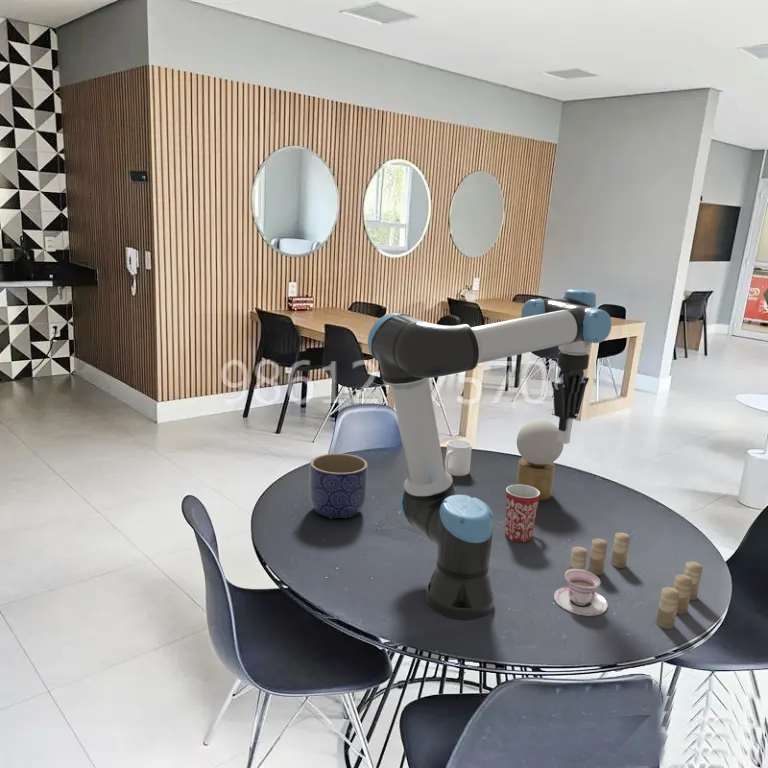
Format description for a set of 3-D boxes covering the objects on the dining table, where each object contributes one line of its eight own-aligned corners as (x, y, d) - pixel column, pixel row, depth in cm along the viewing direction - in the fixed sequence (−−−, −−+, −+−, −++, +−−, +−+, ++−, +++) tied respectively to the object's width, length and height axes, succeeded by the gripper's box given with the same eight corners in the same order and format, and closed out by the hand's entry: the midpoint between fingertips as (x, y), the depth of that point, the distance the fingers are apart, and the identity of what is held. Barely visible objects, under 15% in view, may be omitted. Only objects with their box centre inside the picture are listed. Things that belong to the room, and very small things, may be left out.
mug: (522, 547, 184) (527, 500, 180) (495, 535, 190) (499, 489, 187) (548, 533, 192) (553, 488, 189) (521, 522, 199) (526, 478, 195)
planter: (374, 520, 195) (376, 470, 192) (317, 527, 189) (319, 476, 186) (354, 497, 210) (356, 451, 207) (301, 503, 204) (303, 455, 201)
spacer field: (668, 631, 149) (674, 597, 147) (565, 579, 168) (568, 549, 166) (710, 601, 162) (715, 570, 160) (609, 556, 181) (613, 528, 179)
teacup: (543, 591, 163) (546, 567, 161) (588, 585, 166) (591, 562, 165) (571, 620, 152) (574, 594, 150) (618, 613, 155) (622, 588, 154)
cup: (474, 471, 236) (476, 443, 234) (454, 481, 227) (457, 452, 224) (453, 465, 241) (455, 438, 239) (434, 474, 232) (436, 445, 229)
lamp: (558, 508, 210) (568, 429, 204) (511, 503, 212) (519, 425, 206) (554, 489, 224) (563, 415, 218) (510, 484, 226) (518, 411, 220)
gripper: (571, 357, 165) (560, 450, 171) (601, 352, 174) (590, 441, 180) (545, 351, 171) (535, 442, 177) (576, 347, 179) (565, 433, 185)
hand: (563, 441), depth 178 cm, fingers closed
